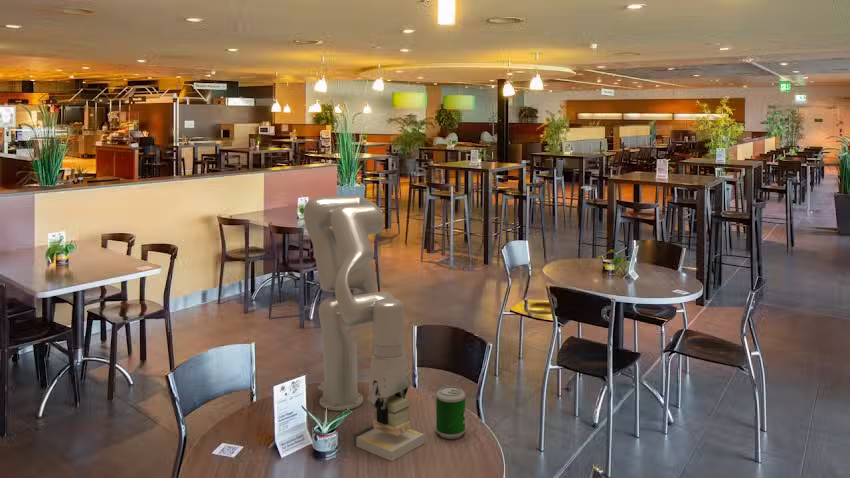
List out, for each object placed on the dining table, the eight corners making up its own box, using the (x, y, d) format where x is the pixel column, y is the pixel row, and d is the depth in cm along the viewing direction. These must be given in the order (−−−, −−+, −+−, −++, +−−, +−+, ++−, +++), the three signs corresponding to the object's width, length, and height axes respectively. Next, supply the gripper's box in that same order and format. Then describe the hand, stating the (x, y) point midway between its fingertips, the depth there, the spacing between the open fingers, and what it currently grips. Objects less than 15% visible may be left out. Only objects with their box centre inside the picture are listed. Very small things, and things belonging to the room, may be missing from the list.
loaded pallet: (373, 427, 168) (372, 399, 167) (387, 420, 172) (386, 392, 171) (396, 436, 163) (396, 406, 162) (410, 428, 167) (409, 400, 166)
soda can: (462, 441, 170) (463, 397, 168) (433, 439, 172) (433, 394, 170) (467, 428, 178) (467, 385, 176) (439, 426, 179) (439, 383, 177)
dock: (354, 445, 168) (353, 433, 168) (386, 429, 178) (386, 417, 177) (391, 461, 160) (391, 448, 160) (423, 443, 170) (423, 431, 169)
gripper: (400, 338, 173) (401, 404, 176) (353, 355, 160) (355, 426, 163) (423, 343, 169) (423, 412, 171) (375, 361, 156) (377, 435, 159)
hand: (390, 418), depth 167 cm, fingers closed on loaded pallet, 5 cm apart
